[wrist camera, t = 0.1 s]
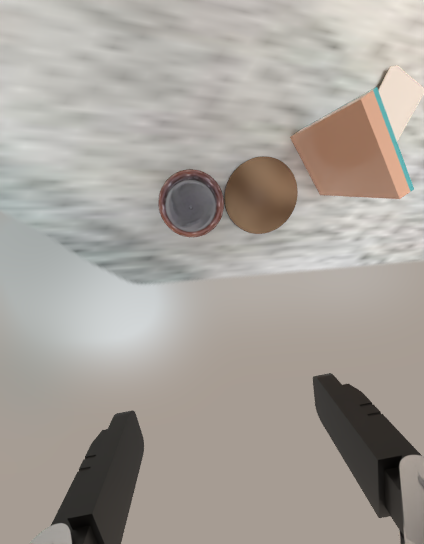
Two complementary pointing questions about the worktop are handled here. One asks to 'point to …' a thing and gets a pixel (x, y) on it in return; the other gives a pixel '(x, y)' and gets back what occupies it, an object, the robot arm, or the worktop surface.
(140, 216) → the worktop surface
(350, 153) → the tile
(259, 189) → the coaster
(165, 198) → the supplement bottle
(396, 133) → the spatula
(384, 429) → the robot arm
